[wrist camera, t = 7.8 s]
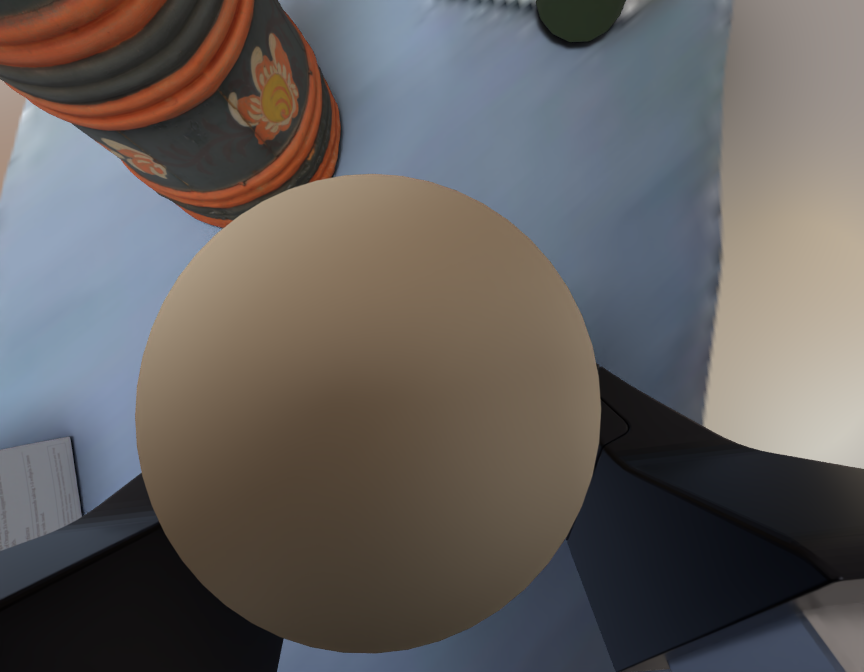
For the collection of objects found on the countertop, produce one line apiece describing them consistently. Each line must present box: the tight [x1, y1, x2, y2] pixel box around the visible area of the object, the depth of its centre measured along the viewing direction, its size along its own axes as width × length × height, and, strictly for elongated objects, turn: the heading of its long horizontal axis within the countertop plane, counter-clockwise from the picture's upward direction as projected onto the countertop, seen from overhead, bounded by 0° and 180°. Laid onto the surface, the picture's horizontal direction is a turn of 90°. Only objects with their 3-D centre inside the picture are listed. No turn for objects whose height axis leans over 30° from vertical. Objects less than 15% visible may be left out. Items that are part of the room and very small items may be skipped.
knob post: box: [135, 174, 601, 653], centre depth 10 cm, size 5×5×12 cm
